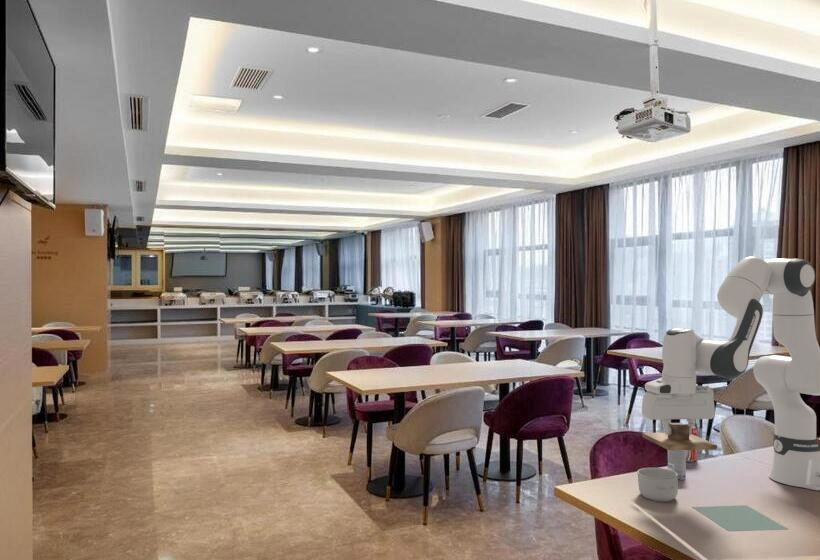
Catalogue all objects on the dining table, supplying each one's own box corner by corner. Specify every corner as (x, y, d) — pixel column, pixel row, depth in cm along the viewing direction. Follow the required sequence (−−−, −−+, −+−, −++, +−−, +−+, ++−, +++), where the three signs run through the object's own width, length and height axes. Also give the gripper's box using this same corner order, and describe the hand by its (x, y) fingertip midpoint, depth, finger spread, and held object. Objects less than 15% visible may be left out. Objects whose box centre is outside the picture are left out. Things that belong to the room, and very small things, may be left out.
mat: (746, 508, 165) (746, 505, 165) (788, 532, 149) (788, 529, 149) (691, 509, 164) (691, 506, 164) (728, 534, 148) (728, 531, 148)
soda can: (671, 457, 214) (672, 423, 214) (690, 456, 215) (691, 423, 215) (682, 463, 207) (682, 428, 207) (702, 462, 208) (702, 428, 208)
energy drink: (682, 474, 194) (682, 437, 194) (688, 480, 189) (688, 442, 189) (665, 474, 194) (665, 437, 195) (670, 479, 189) (671, 441, 189)
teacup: (659, 509, 164) (660, 479, 164) (628, 496, 174) (628, 468, 174) (693, 500, 171) (693, 472, 171) (661, 489, 180) (662, 462, 180)
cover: (687, 436, 176) (687, 418, 176) (717, 449, 162) (717, 430, 162) (642, 436, 174) (642, 419, 174) (668, 450, 160) (668, 430, 160)
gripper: (706, 383, 173) (706, 431, 173) (639, 383, 170) (638, 432, 170) (720, 387, 166) (719, 437, 166) (650, 387, 164) (650, 438, 164)
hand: (678, 434), depth 168 cm, fingers closed on cover, 4 cm apart
